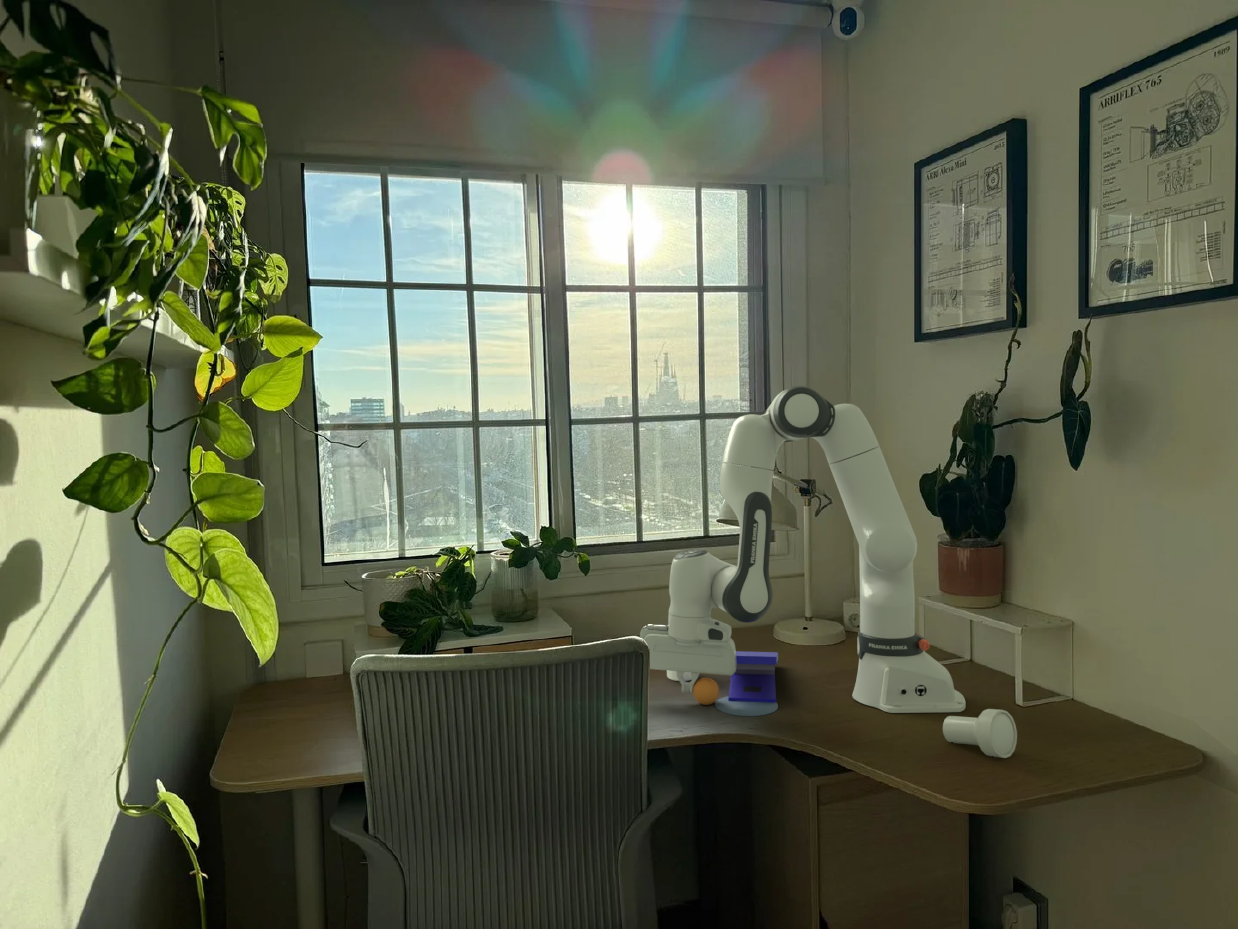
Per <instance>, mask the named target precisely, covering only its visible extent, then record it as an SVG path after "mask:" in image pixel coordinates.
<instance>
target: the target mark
mask: <svg viewBox="0 0 1238 929" xmlns="http://www.w3.org/2000/svg"><path fill="white" fill-rule="evenodd" d="M728 697H729V695H727V696H724V697H721V698H718V699H717V700H716V701H715V702H714V708H716V709H717V710H718V711H720V712H722V713H725V714H727V715H732V716H737V717H760V716H766V715H770V714H772V713H775V712H776V711H777V710H778V709H779V705H778V703H777V701H776V702H751V701H728Z"/></svg>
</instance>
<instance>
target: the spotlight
mask: <svg viewBox="0 0 1238 929" xmlns="http://www.w3.org/2000/svg"><path fill="white" fill-rule="evenodd" d="M1016 725H1017V724H1016V723H1015V720H1014V717H1013V715H1011V714H1010V713H1009V712H1008V711H1007V710H1004V709H995V708H987V709H984V710H982V712H981V713H980V714H979V715H978V717H971V716H970V717H969V716H957V715H949V716H946V718H944V721H943V723H942V733H943V737H944V739H945V740H946V741H947V742H948V743H951V742H953V744H961V745H970V746H971V745H972V746H978V747H979V749H980V750H981V752H982V753H984V755H985V756H988V757H992V756H993V757H992V758H1001V759H1007V758H1010V757H1011V756H1012V755H1013V753H1014V752H1015V750H1016V746H1017V744H1018V743H1017V741H1018V730H1017V727H1016Z"/></svg>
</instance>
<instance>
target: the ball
mask: <svg viewBox="0 0 1238 929" xmlns="http://www.w3.org/2000/svg"><path fill="white" fill-rule="evenodd" d="M692 694H693V697H694V699H695V700H696V701H697V703H699V704H701V705H703V706H704V705H705V706H706V705H708V706H709V705H712V704H713V703H715V702H716V701H717V700H718V699H719V696H720V687H719V685H718V683H717V682H716V681H715V680H713V679H712V678H710V677H702V678H699V679H697V680H696V681H695V683H694V684H693V693H692Z"/></svg>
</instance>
